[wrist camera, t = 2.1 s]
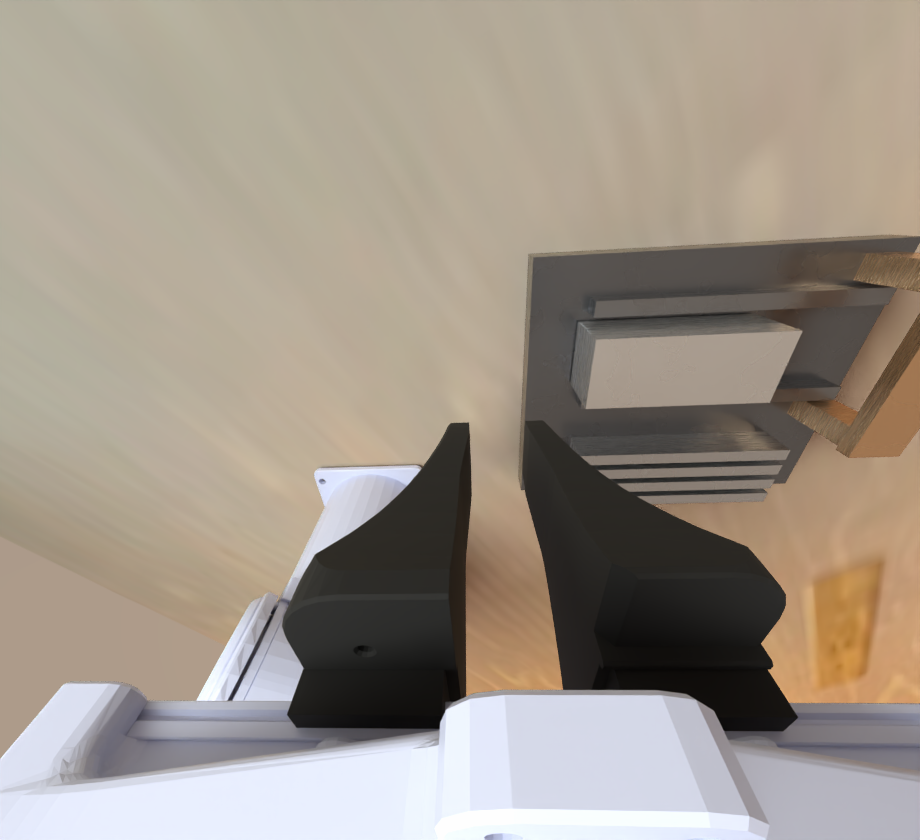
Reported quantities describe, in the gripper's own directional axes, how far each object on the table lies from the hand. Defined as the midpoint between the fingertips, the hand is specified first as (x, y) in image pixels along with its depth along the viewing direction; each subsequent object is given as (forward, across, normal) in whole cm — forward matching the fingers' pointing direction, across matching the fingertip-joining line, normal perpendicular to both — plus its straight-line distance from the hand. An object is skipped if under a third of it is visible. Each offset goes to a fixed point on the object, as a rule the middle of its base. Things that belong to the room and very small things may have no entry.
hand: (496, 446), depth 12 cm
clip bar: (+9, -9, 0) cm, 13 cm away
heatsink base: (+10, -11, +3) cm, 16 cm away
